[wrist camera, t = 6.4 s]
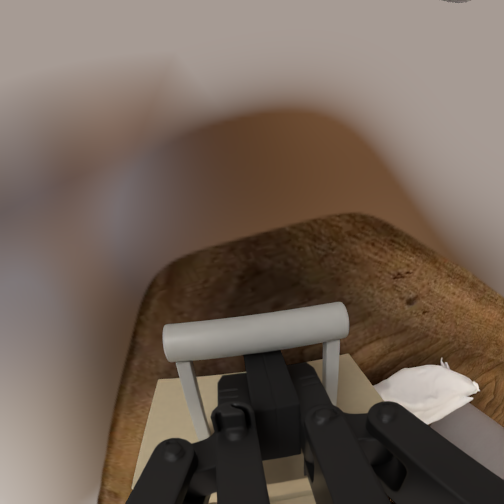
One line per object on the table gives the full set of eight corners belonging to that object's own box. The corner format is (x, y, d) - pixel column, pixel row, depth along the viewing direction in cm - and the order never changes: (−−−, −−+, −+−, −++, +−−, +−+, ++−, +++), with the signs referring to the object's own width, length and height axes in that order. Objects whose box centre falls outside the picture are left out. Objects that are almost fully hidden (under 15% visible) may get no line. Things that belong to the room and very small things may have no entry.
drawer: (134, 287, 16) (67, 375, 7) (350, 260, 17) (447, 321, 8) (206, 502, 21) (209, 575, 12) (333, 484, 22) (359, 550, 13)
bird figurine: (433, 328, 21) (341, 385, 19) (491, 369, 16) (403, 451, 13) (422, 368, 23) (336, 422, 21) (470, 408, 17) (385, 480, 15)
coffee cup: (421, 410, 22) (508, 511, 7) (486, 375, 23) (572, 444, 8) (405, 465, 24) (463, 553, 9) (466, 432, 25) (528, 500, 10)
